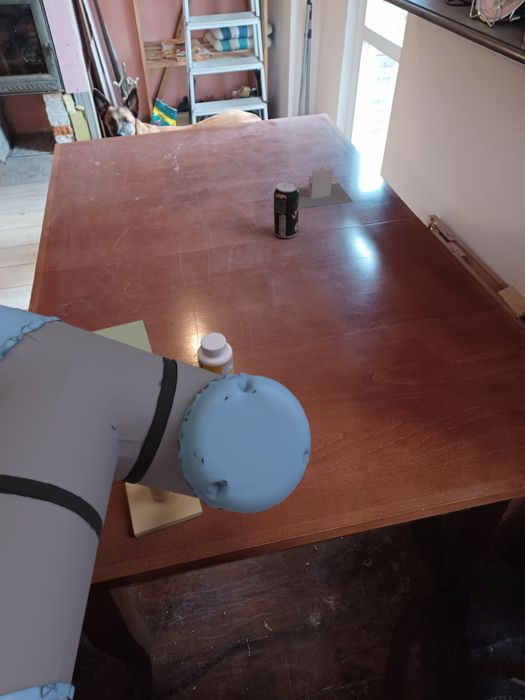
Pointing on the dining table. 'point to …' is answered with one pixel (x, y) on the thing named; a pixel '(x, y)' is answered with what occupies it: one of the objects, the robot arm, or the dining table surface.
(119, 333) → the mat
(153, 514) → the stand
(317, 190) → the architectural model
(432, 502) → the dining table surface
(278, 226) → the beverage can
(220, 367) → the supplement bottle
